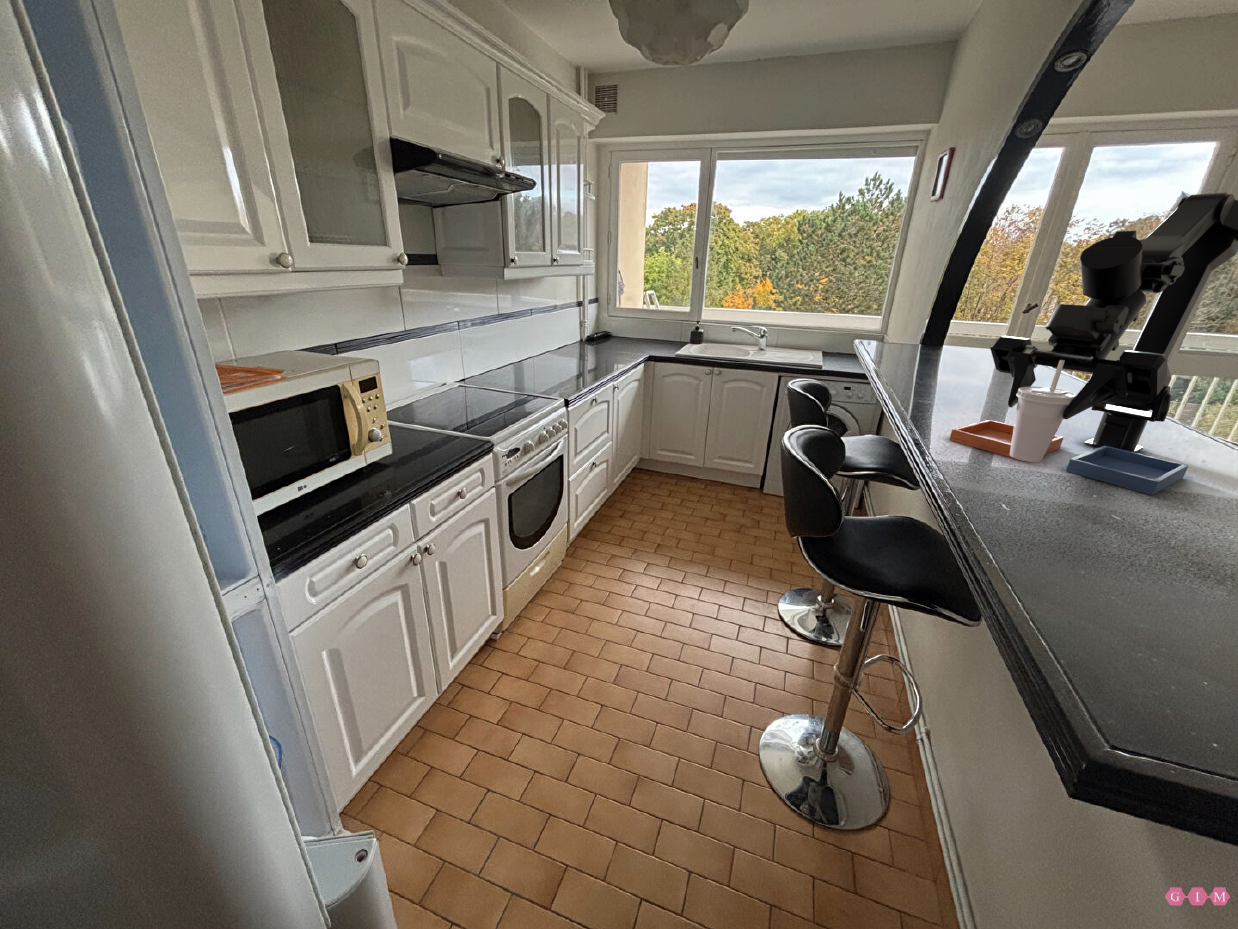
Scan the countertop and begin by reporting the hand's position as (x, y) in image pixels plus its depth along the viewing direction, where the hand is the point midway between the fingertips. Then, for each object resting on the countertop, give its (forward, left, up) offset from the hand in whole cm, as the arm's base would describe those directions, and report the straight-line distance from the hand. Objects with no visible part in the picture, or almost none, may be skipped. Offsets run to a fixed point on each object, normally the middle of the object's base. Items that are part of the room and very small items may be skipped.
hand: (1035, 411), depth 69 cm
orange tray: (-21, -10, -12) cm, 26 cm away
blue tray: (-22, +6, -12) cm, 25 cm away
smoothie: (-1, 0, -7) cm, 7 cm away
